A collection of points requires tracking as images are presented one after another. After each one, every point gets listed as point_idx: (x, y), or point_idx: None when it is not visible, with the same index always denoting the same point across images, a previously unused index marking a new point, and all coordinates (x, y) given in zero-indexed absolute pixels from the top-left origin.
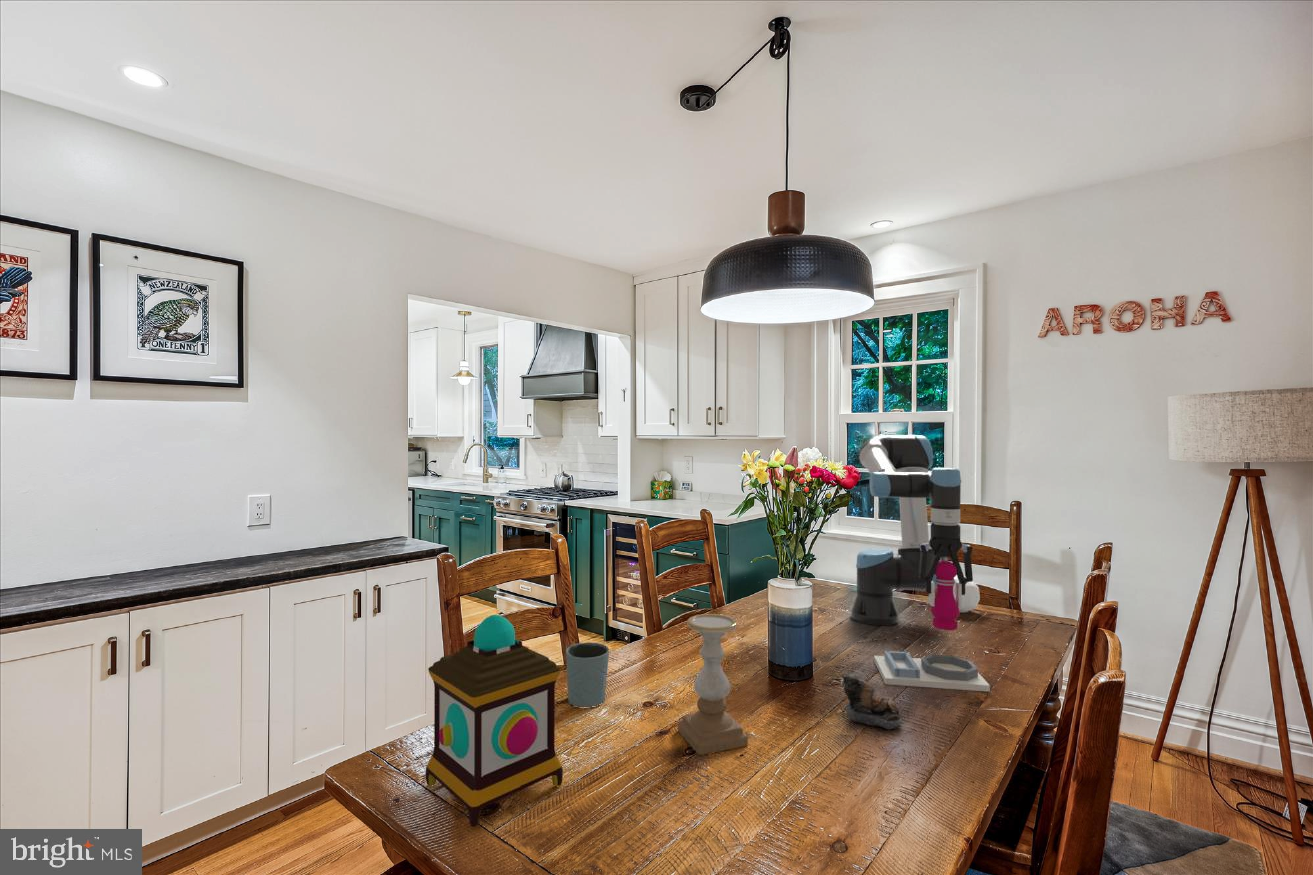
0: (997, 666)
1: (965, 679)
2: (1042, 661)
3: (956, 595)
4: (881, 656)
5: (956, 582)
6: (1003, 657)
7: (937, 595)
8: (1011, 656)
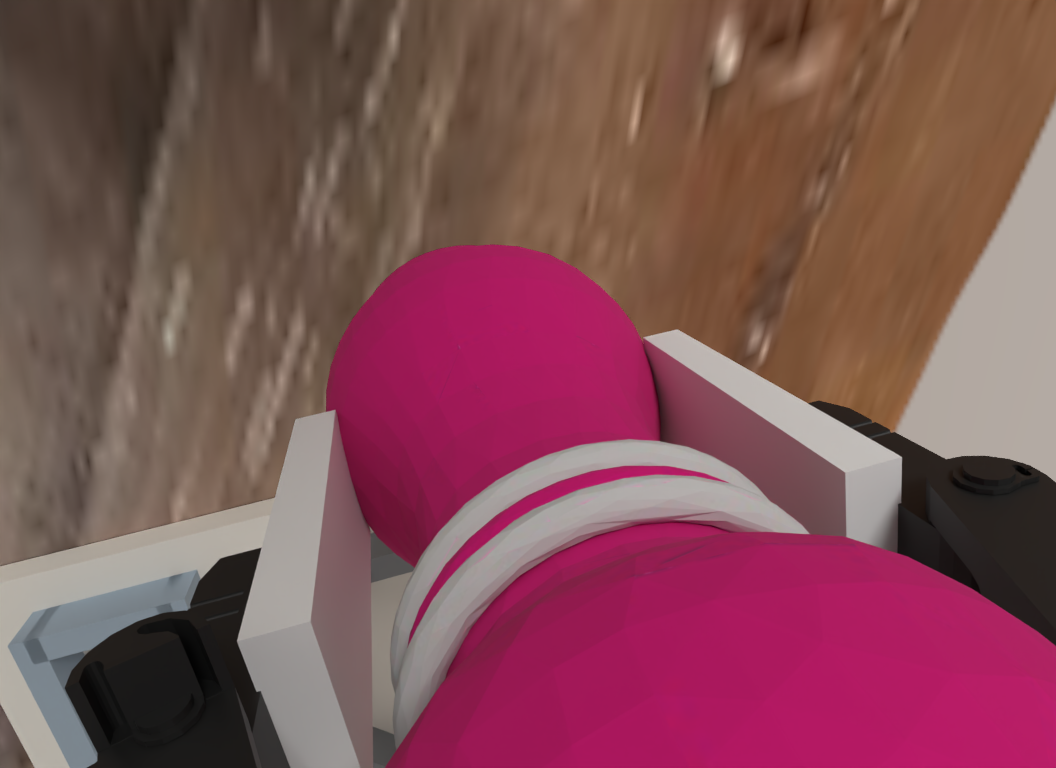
0: (725, 340)
1: None
2: (996, 137)
3: (709, 423)
4: (2, 590)
5: (844, 527)
6: (803, 144)
7: (418, 560)
8: (857, 101)
